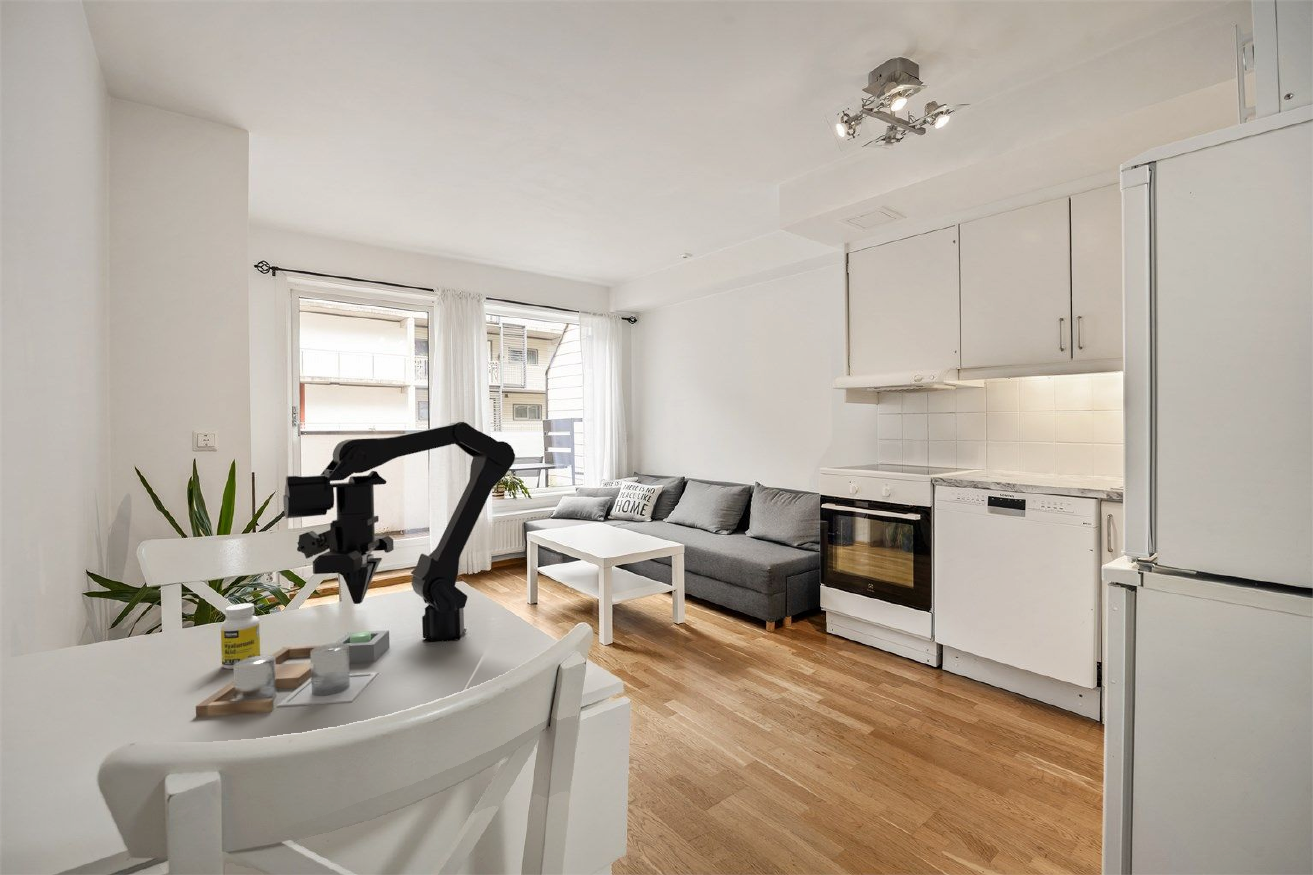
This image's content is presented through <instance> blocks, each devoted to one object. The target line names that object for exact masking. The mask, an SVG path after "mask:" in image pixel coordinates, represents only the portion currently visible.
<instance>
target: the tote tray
mask: <svg viewBox="0 0 1313 875" xmlns="http://www.w3.org/2000/svg"><path fill="white" fill-rule="evenodd" d="M377 676H379V671H370V672H369V671H368V672H355V673H350V686H349V688H348V689H346V690H345V691H343V692H340V693H337V694H334V695H329V696H314V695H313V694H312V685H311V677H310V678H309V679H308V680H307V681H306V682H304V683H303V684H302V685H301V686H300V687H296V688H295V690H293V691H292V692H291V693H290V694H288V695H287V696H286V697H285V698H284V699H283V700H281V701H280V702H279V703H278V704H277V706H276V707H277V708H279V707H280V708H281V707H283V708H284V707H296V706H312V705H313V706H314V705H315V706H316V705H326V704H327V705H329V704H331V705H332V704H343V703H346V704H347V703H352V702H354V700H356V699H357V697H358V696H359V695H360V694H361V693H362V692H363V691H364V690H365V688H366V687H368V685H369V684H371V682H372V681H373V680H374V679H375V678H376V677H377Z"/></svg>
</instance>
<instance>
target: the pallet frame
mask: <svg viewBox="0 0 1313 875" xmlns="http://www.w3.org/2000/svg"><path fill="white" fill-rule="evenodd" d="M322 645H323V644H320V645H301V646H287V647H286V646H285V647H282V648H280V649H278V650H277V651H275V652H274V653H273V654H271V656H275V662H276V689H290V688H298V687H300V686H301V685H302V684H303V683H304V682H306V681H307V680H308V679H309V678H310V677H311V662H297V663H296V662H295V663H284V662H286V660H288V659H289V658H301V657H304V658H305V657H311V655H310V652H311V650H313V649H314V648H316V647H319V646H322ZM232 699H235V694H234V680H233V681H231V682H230V683H228V684H226V685H225V686H223V687H222V688H221V689H219V690H218V691H216V692H215V693H213V694H211V695H210V696H208V697H207V698H205V699H204V700H202V701H201V702H200V703H198V704H197V705H196V706H195V717H196V718H197V717H212V716H214V717H215V716H229V715H231V716H232V715H246V714H260V713H261V714H262V713H270V712H272V711H273V710H274V707H275V706H274V699H273V698H270V699H254V700H238V701H235V700H232Z"/></svg>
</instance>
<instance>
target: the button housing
mask: <svg viewBox="0 0 1313 875" xmlns="http://www.w3.org/2000/svg"><path fill="white" fill-rule="evenodd" d="M360 632H361V631H355V632H354V631H352V632H347V633H346V634H344V635H343V636H342V637H340V638H339V639H338V640H337V641H336V642H334V643H346V644H348V645H349V665H350V664H364V663H365V664H367V663H375V662H376V661H378V659H379V658H380V657H381V656H382V655H384V653H385V652H386V651H387V650H388V649H389V648H390V630H373V631H372V630H370V631H367V632H370V633H371V641H369V642H362V643H350V636H351V635H353V634H356V633H360Z"/></svg>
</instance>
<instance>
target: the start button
mask: <svg viewBox="0 0 1313 875" xmlns="http://www.w3.org/2000/svg"><path fill="white" fill-rule="evenodd" d="M359 632H360V633H356V634H353V635H351V636H350V643H362V642H369V641H371V633H370V632H368V631H359Z"/></svg>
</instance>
